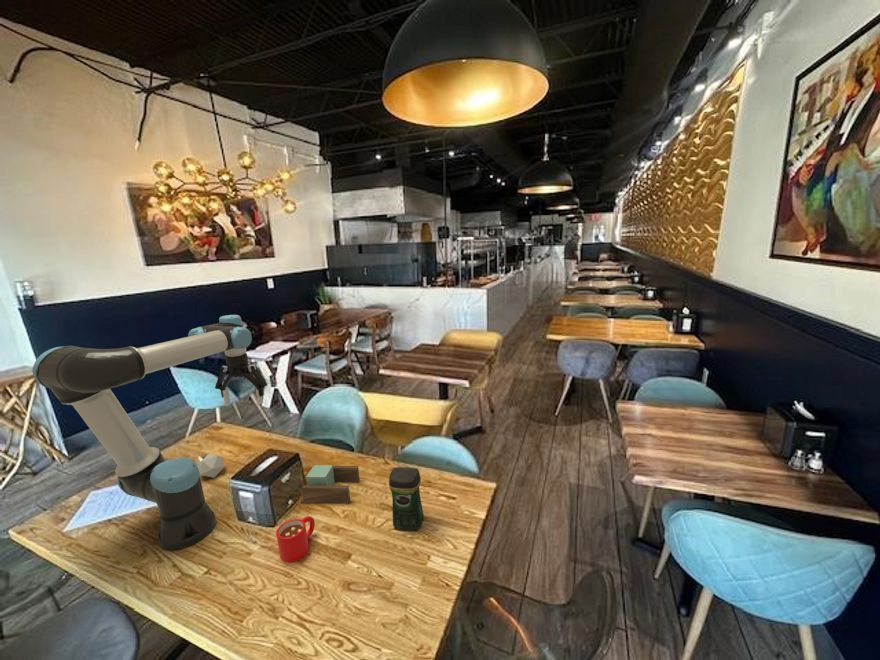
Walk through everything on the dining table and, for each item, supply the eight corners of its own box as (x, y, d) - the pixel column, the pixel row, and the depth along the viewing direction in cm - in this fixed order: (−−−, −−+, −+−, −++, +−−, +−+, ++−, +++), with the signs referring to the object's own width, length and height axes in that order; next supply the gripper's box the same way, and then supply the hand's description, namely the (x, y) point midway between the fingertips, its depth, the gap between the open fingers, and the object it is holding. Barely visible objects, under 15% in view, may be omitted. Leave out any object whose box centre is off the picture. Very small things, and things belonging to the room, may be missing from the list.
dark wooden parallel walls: (348, 503, 127) (347, 488, 125) (300, 503, 128) (298, 488, 127) (359, 479, 139) (358, 465, 138) (315, 479, 141) (313, 465, 139)
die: (231, 472, 150) (225, 448, 153) (216, 474, 141) (210, 449, 144) (212, 481, 149) (206, 457, 152) (195, 483, 141) (190, 458, 144)
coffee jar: (425, 514, 120) (422, 463, 115) (420, 533, 112) (416, 479, 108) (397, 512, 121) (392, 462, 117) (389, 530, 114) (384, 477, 110)
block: (328, 497, 130) (325, 477, 128) (308, 496, 131) (306, 477, 129) (335, 484, 137) (332, 465, 135) (316, 484, 138) (314, 465, 136)
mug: (324, 535, 113) (321, 513, 111) (294, 566, 102) (290, 542, 101) (305, 528, 116) (302, 506, 115) (274, 557, 106) (269, 534, 104)
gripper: (271, 350, 149) (278, 399, 154) (211, 352, 150) (220, 401, 155) (262, 355, 142) (269, 406, 146) (199, 357, 143) (208, 408, 147)
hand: (244, 404), depth 150 cm, fingers open, 13 cm apart
